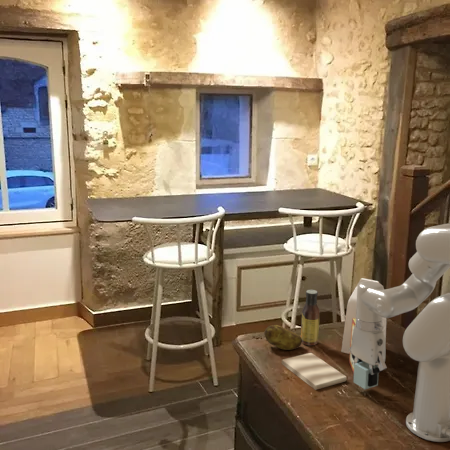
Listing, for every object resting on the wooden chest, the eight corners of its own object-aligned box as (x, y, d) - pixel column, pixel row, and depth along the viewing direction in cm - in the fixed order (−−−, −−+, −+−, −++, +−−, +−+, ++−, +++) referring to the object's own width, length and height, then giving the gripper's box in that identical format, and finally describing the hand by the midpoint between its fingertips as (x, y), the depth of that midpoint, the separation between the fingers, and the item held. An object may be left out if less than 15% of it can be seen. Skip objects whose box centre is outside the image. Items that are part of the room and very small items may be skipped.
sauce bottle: (305, 337, 191) (308, 286, 187) (320, 342, 188) (324, 290, 183) (297, 343, 186) (300, 291, 182) (312, 348, 182) (316, 295, 178)
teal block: (377, 385, 154) (378, 366, 153) (365, 389, 151) (366, 370, 150) (365, 378, 158) (366, 360, 157) (353, 382, 156) (354, 363, 155)
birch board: (346, 381, 161) (346, 376, 160) (315, 389, 155) (315, 385, 155) (310, 356, 176) (311, 352, 176) (281, 363, 171) (281, 359, 170)
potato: (298, 355, 177) (299, 334, 175) (261, 349, 181) (262, 328, 179) (302, 345, 184) (303, 324, 183) (267, 340, 188) (268, 319, 187)
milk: (341, 351, 181) (346, 281, 175) (352, 340, 190) (358, 272, 184) (375, 361, 174) (381, 288, 168) (385, 348, 184) (392, 279, 178)
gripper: (400, 331, 145) (396, 390, 149) (358, 312, 160) (355, 367, 164) (380, 336, 142) (376, 397, 145) (339, 316, 157) (337, 372, 160)
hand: (365, 380), depth 154 cm, fingers closed on teal block, 4 cm apart
